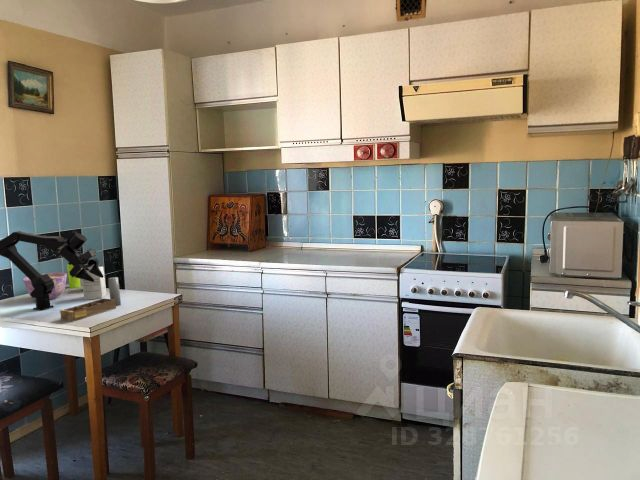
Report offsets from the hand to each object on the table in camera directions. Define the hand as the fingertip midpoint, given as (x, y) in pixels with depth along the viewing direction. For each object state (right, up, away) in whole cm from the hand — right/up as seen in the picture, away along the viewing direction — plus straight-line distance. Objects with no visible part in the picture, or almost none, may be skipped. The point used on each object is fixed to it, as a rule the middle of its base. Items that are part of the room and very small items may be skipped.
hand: (98, 279), depth 242 cm
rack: (+1, -14, -12) cm, 19 cm away
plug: (+8, -12, +1) cm, 15 cm away
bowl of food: (-36, -12, +24) cm, 45 cm away
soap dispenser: (-35, -8, +50) cm, 62 cm away
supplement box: (-10, -11, +20) cm, 25 cm away
